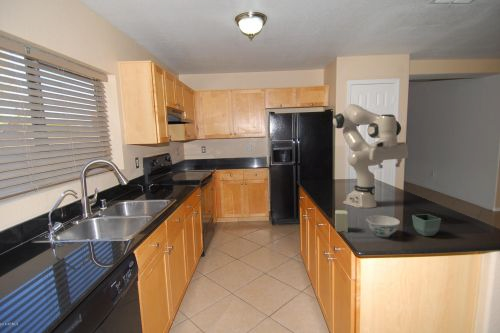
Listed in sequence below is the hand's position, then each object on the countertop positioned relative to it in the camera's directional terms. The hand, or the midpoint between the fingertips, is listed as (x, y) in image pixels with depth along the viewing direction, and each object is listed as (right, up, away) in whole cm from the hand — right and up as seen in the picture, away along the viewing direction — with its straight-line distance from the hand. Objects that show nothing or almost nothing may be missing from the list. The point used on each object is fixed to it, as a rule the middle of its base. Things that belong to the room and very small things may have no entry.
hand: (389, 167), depth 144 cm
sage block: (-29, -34, -6) cm, 45 cm away
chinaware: (-12, -34, -15) cm, 39 cm away
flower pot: (+9, -34, -17) cm, 39 cm away
